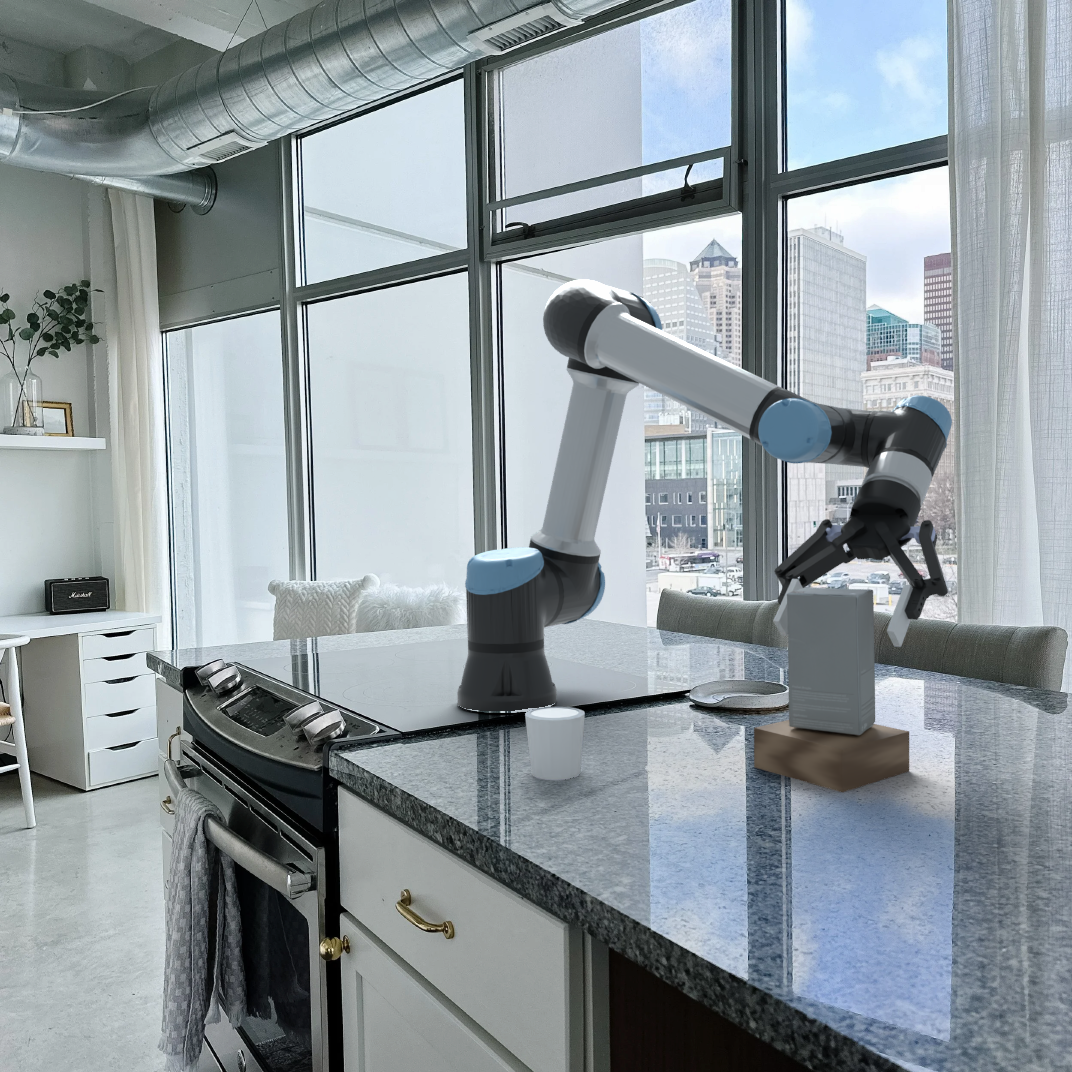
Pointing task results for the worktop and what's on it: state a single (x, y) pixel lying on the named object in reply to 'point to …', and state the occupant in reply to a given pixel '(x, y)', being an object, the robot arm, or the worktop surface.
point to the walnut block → (832, 754)
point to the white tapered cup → (555, 742)
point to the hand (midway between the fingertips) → (834, 633)
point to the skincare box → (831, 659)
